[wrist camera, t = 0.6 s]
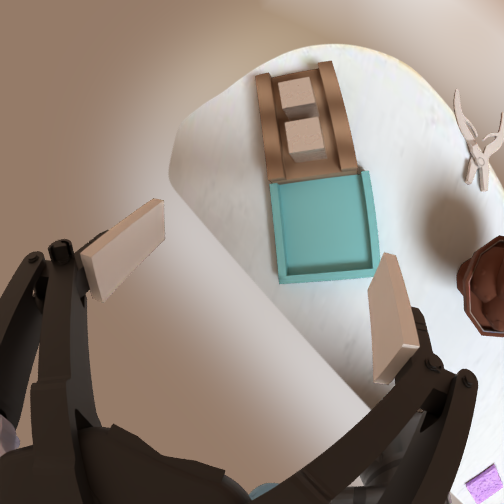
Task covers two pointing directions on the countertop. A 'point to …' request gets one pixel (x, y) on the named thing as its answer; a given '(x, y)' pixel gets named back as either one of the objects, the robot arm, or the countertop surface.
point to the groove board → (274, 119)
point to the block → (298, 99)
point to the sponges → (484, 484)
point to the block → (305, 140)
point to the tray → (325, 229)
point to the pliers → (477, 158)
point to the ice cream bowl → (484, 288)
